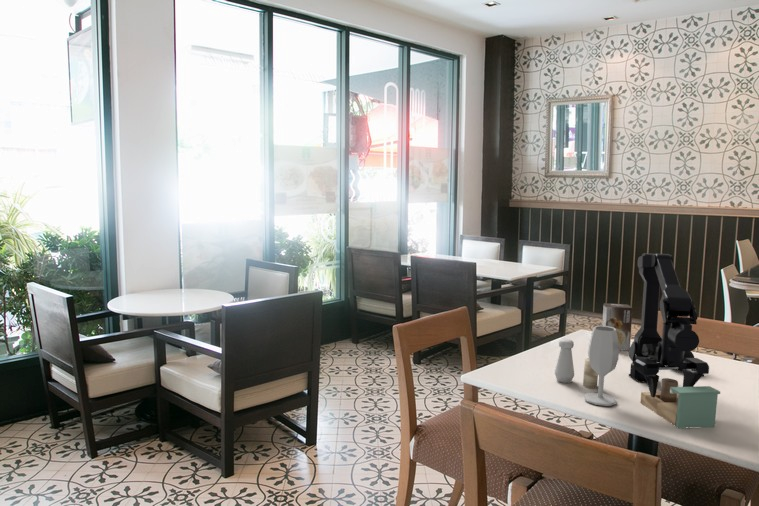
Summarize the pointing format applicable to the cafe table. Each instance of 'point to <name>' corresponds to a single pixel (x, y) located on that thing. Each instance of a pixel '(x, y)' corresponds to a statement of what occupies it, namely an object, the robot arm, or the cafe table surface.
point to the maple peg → (589, 376)
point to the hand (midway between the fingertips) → (668, 396)
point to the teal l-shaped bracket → (696, 406)
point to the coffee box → (619, 322)
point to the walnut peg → (668, 390)
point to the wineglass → (602, 361)
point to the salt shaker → (565, 362)
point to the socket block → (660, 406)
